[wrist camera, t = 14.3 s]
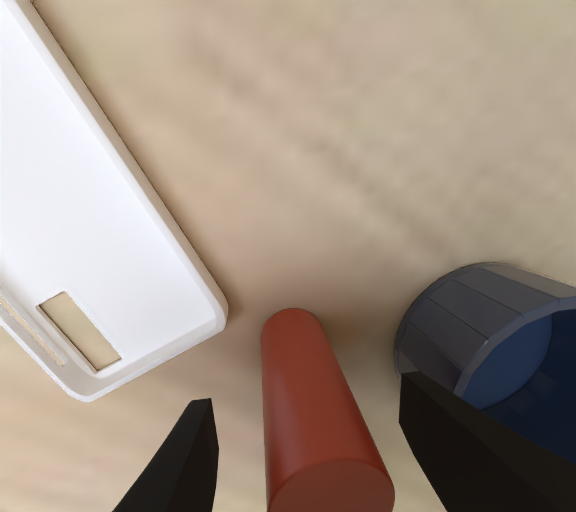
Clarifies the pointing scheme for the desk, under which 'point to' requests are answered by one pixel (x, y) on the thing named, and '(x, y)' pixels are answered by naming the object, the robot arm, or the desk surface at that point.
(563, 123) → the desk surface
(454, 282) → the blue cup
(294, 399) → the red peg
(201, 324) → the phone case
